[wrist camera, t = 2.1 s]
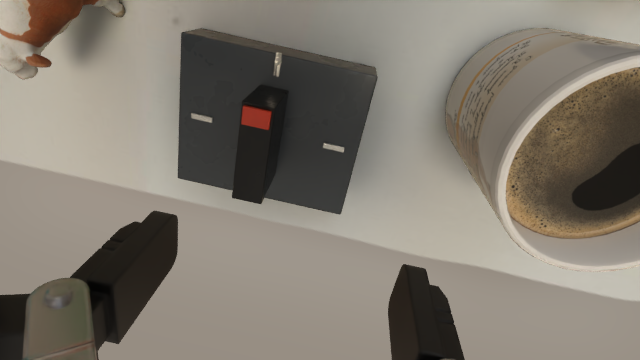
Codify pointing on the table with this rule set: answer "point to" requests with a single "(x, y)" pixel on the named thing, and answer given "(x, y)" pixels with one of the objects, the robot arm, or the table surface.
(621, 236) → the mug
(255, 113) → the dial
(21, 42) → the bull figurine
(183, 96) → the dial panel
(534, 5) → the table surface
